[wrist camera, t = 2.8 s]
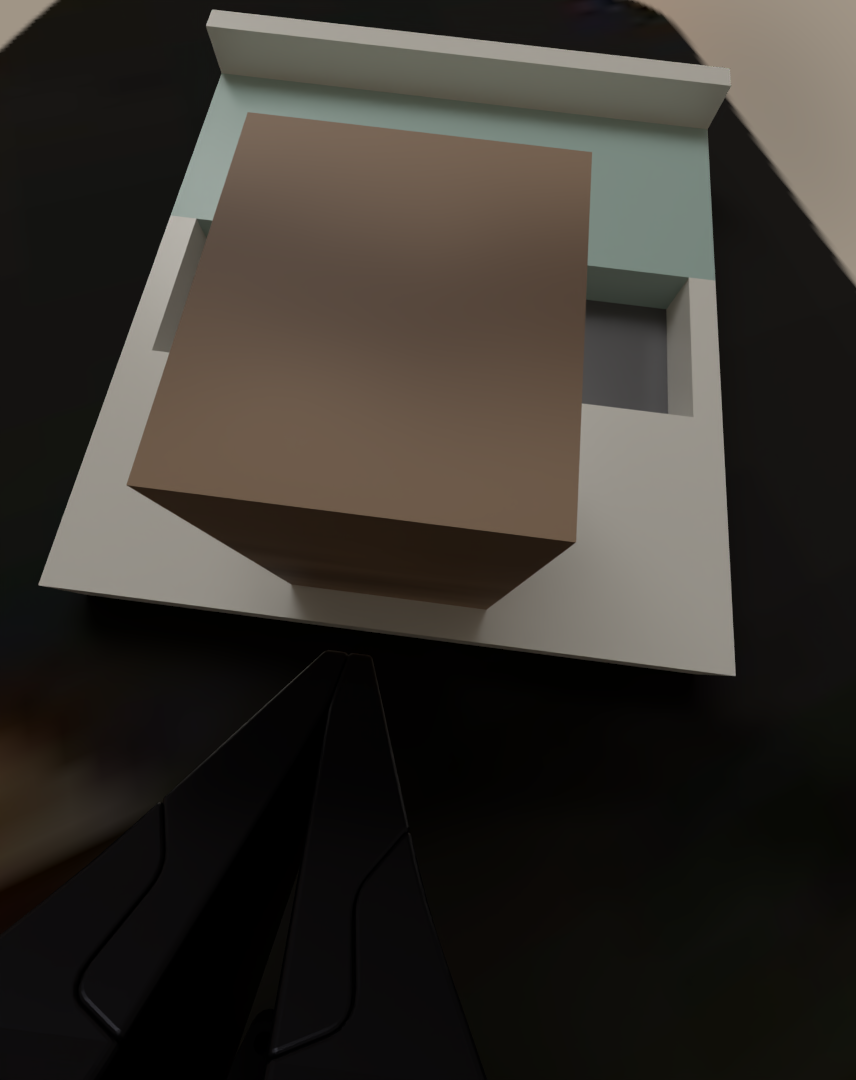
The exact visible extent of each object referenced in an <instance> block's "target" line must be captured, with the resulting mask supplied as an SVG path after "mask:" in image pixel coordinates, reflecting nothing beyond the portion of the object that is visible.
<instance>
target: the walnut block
mask: <svg viewBox="0 0 856 1080" xmlns="http://www.w3.org/2000/svg"><path fill="white" fill-rule="evenodd" d="M591 168H592V152H586V151H578V150H569V149H561V148H552V147H543V146H535V145H526V144H518V143H509V142H501V141H492V140H483V139H475V138H466V137H458V136H449V135H440V134H432V133H423V132H415V131H406V130H397V129H389V128H380V127H372V126H363V125H355V124H346V123H337V122H329V121H320V120H312V119H303V118H294V117H286V116H277V115H269V114H260V113H251V112H248V113H247V116H246V119H245V122H244V125H243V128H242V131H241V134H240V137H239V140H238V144H237V147H236V150H235V153H234V156H233V159H232V162H231V165H230V168H229V171H228V174H227V177H226V180H225V183H224V187H223V190H222V193H221V196H220V199H219V202H218V205H217V208H216V211H215V214H214V217H213V220H212V223H211V226H210V230H209V233H208V236H207V239H206V242H205V245H204V248H203V251H202V254H201V257H200V260H199V263H198V266H197V269H196V273H195V276H194V279H193V282H192V285H191V288H190V291H189V294H188V297H187V300H186V303H185V306H184V309H183V312H182V316H181V319H180V322H179V325H178V328H177V331H176V334H175V337H174V340H173V343H172V346H171V349H170V352H169V355H168V359H167V362H166V365H165V368H164V371H163V374H162V377H161V380H160V383H159V386H158V389H157V392H156V395H155V398H154V402H153V405H152V408H151V411H150V414H149V417H148V420H147V423H146V426H145V429H144V432H143V435H142V438H141V442H140V445H139V448H138V451H137V454H136V457H135V460H134V463H133V466H132V469H131V472H130V475H129V478H128V481H127V486H129V487H130V488H132V489H134V490H135V491H137V492H139V493H140V494H142V495H143V496H145V497H147V498H148V499H150V500H152V501H153V502H155V503H157V504H158V505H160V506H162V507H163V508H165V509H167V510H168V511H170V512H172V513H173V514H175V515H177V516H178V517H180V518H182V519H183V520H185V521H187V522H188V523H190V524H192V525H193V526H195V527H197V528H198V529H200V530H202V531H203V532H205V533H207V534H208V535H210V536H212V537H213V538H215V539H216V540H218V541H220V542H221V543H223V544H225V545H226V546H228V547H230V548H231V549H233V550H235V551H236V552H238V553H240V554H241V555H243V556H245V557H246V558H248V559H250V560H251V561H253V562H255V563H256V564H258V565H260V566H261V567H263V568H265V569H266V570H268V571H270V572H271V573H273V574H275V575H276V576H278V577H280V578H281V579H283V580H285V581H286V582H288V583H290V584H292V585H299V586H307V587H315V588H323V589H330V590H338V591H346V592H353V593H361V594H369V595H377V596H384V597H392V598H400V599H407V600H415V601H423V602H431V603H438V604H446V605H454V606H462V607H469V608H477V609H485V610H487V609H488V608H489V607H491V606H492V605H493V604H495V603H496V602H497V601H499V600H500V599H501V598H503V597H504V596H505V595H507V594H508V593H509V592H511V591H512V590H513V589H515V588H516V587H517V586H519V585H520V584H521V583H523V582H524V581H525V580H527V579H528V578H529V577H531V576H532V575H533V574H535V573H536V572H537V571H539V570H540V569H541V568H543V567H544V566H545V565H547V564H548V563H549V562H551V561H552V560H553V559H555V558H556V557H557V556H559V555H560V554H561V553H563V552H564V551H565V550H567V549H568V548H569V547H571V546H572V545H573V544H575V543H576V533H577V509H578V484H579V460H580V436H581V411H582V387H583V363H584V338H585V314H586V289H587V265H588V241H589V216H590V192H591Z"/></svg>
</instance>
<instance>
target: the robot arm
mask: <svg viewBox="0 0 856 1080" xmlns="http://www.w3.org/2000/svg"><path fill="white" fill-rule="evenodd" d="M409 830H410V828H409V823H408V819H407V814H406V810H405V805H404V800H403V796H402V791H401V787H400V782H399V778H398V773H397V769H396V764H395V759H394V755H393V750H392V746H391V741H390V737H389V732H388V728H387V723H386V719H385V714H384V709H383V705H382V700H381V696H380V691H379V687H378V682H377V678H376V673H375V668H374V664H373V659H372V657H371V656H370V655H364V654H355V653H351V654H350V655H349V656H348V654H347V653H345V652H339V651H330V650H327V651H325V652H323V653H322V654H321V655H320V656H319V657H318V658H316V659H315V660H314V661H313V662H312V663H311V664H310V665H309V666H308V667H307V668H306V669H304V670H303V671H302V672H301V673H300V674H299V675H298V676H297V677H296V678H295V679H293V680H292V681H291V682H290V683H289V684H288V685H287V686H286V687H285V688H284V689H283V690H281V691H280V692H279V693H278V694H277V695H276V696H275V697H274V698H273V699H272V700H270V701H269V702H268V703H267V704H266V705H265V706H264V707H263V708H262V709H261V710H259V711H258V712H257V713H256V714H255V715H254V716H253V717H252V718H251V719H250V720H249V721H247V722H246V723H245V724H244V725H243V726H242V727H241V728H240V729H239V730H238V731H236V732H235V733H234V734H233V735H232V736H231V737H230V738H229V739H228V740H227V741H226V742H224V743H223V744H222V745H221V746H220V747H219V748H218V749H217V750H216V751H215V752H213V753H212V754H211V755H210V756H209V757H208V758H207V759H206V760H205V761H204V762H202V763H201V764H200V765H199V766H198V767H197V768H196V769H195V770H194V771H193V772H192V773H190V774H189V775H188V776H187V777H186V778H185V779H184V780H183V781H182V782H181V783H179V784H178V785H177V786H176V787H175V788H174V789H173V790H172V791H171V792H170V793H169V794H167V795H166V796H165V797H164V799H163V803H161V802H159V803H157V804H156V805H155V806H154V807H153V808H152V809H151V810H150V811H148V812H147V813H146V814H145V815H144V816H143V817H142V818H141V819H140V820H139V821H137V822H136V823H135V824H134V825H133V826H132V827H131V828H130V829H128V830H127V831H126V832H125V833H124V834H123V835H122V836H120V837H119V838H118V839H117V840H116V841H115V842H114V843H112V844H111V845H110V846H109V847H108V848H107V849H106V850H105V851H103V852H102V853H101V854H100V855H99V856H98V857H97V858H95V859H94V860H93V861H92V862H91V863H89V864H88V865H87V866H86V867H84V868H83V869H82V870H81V871H80V872H78V873H77V874H76V875H75V876H73V877H72V878H71V879H70V880H68V881H67V882H66V883H65V884H64V885H62V886H61V887H60V888H59V889H57V890H56V891H55V892H54V893H52V894H51V895H50V896H49V897H48V898H46V899H45V900H44V901H43V902H41V903H40V904H39V905H38V906H36V907H35V908H34V909H32V910H31V911H30V912H29V913H27V914H26V915H25V916H24V917H22V918H21V919H20V920H18V921H17V922H16V923H15V924H13V925H12V926H11V927H10V928H8V929H7V930H6V931H4V932H3V933H2V934H1V935H0V1080H487V1078H486V1075H485V1073H484V1070H483V1067H482V1064H481V1061H480V1058H479V1055H478V1052H477V1049H476V1046H475V1044H474V1041H473V1038H472V1035H471V1032H470V1029H469V1026H468V1023H467V1020H466V1017H465V1015H464V1012H463V1009H462V1006H461V1003H460V1000H459V997H458V994H457V991H456V989H455V986H454V983H453V980H452V977H451V974H450V971H449V968H448V965H447V962H446V960H445V957H444V954H443V951H442V947H441V944H440V941H439V938H438V935H437V931H436V928H435V925H434V922H433V919H432V915H431V912H430V909H429V906H428V902H427V898H426V894H425V890H424V886H423V882H422V878H421V875H420V871H419V867H418V863H417V858H416V854H415V849H414V845H413V840H412V836H411V834H410V833H409ZM299 866H300V869H299ZM298 869H299V874H298V880H297V885H296V891H295V897H294V902H293V908H292V913H291V919H290V925H289V930H288V936H287V941H286V947H285V953H284V958H283V964H282V969H281V975H280V981H279V986H278V992H277V997H276V1003H275V1009H274V1010H273V1009H268V1010H264V1011H262V1012H261V1013H259V1014H258V1015H257V1016H256V1018H255V1019H254V1020H253V1022H252V1024H251V1026H250V1028H249V1030H248V1032H247V1034H246V1036H245V1038H244V1040H243V1042H242V1044H241V1046H240V1048H239V1050H238V1052H237V1049H238V1046H239V1043H240V1040H241V1037H242V1034H243V1031H244V1028H245V1025H246V1022H247V1019H248V1016H249V1013H250V1010H251V1008H252V1005H253V1002H254V999H255V996H256V993H257V990H258V987H259V984H260V981H261V978H262V975H263V972H264V969H265V966H266V963H267V960H268V957H269V955H270V952H271V949H272V946H273V943H274V940H275V937H276V934H277V931H278V928H279V925H280V922H281V919H282V916H283V913H284V910H285V907H286V904H287V902H288V899H289V896H290V893H291V890H292V887H293V884H294V881H295V878H296V875H297V872H298ZM261 1032H268V1033H270V1037H269V1042H268V1043H264V1042H263V1041H262V1040H261V1039H260V1037H259V1033H261ZM236 1052H237V1054H236ZM235 1055H236V1056H235Z"/></svg>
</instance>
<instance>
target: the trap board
mask: <svg viewBox="0 0 856 1080" xmlns="http://www.w3.org/2000/svg"><path fill="white" fill-rule="evenodd" d="M206 28H207V31H208V34H209V37H210V40H211V42H212V45H213V48H214V51H215V54H216V57H217V60H218V63H219V66H220V69H221V72H222V74H221V77H220V80H219V83H218V85H217V88H216V91H215V94H214V96H213V99H212V102H211V105H210V108H209V110H208V113H207V116H206V119H205V122H204V124H203V127H202V130H201V133H200V136H199V138H198V141H197V144H196V147H195V149H194V152H193V155H192V158H191V161H190V163H189V166H188V169H187V172H186V175H185V177H184V180H183V183H182V186H181V189H180V191H179V194H178V197H177V200H176V203H175V205H174V208H173V211H172V214H171V216H170V219H169V222H168V225H167V228H166V230H165V233H164V236H163V239H162V242H161V244H160V247H159V250H158V253H157V256H156V258H155V261H154V264H153V267H152V269H151V272H150V275H149V278H148V281H147V283H146V286H145V289H144V292H143V295H142V297H141V300H140V303H139V306H138V309H137V311H136V314H135V317H134V320H133V323H132V325H131V328H130V331H129V334H128V336H127V339H126V342H125V345H124V348H123V350H122V353H121V356H120V359H119V362H118V364H117V367H116V370H115V373H114V376H113V378H112V381H111V384H110V387H109V390H108V392H107V395H106V398H105V401H104V403H103V406H102V409H101V412H100V415H99V417H98V420H97V423H96V426H95V429H94V431H93V434H92V437H91V440H90V443H89V445H88V448H87V451H86V454H85V456H84V459H83V462H82V465H81V468H80V470H79V473H78V476H77V479H76V482H75V484H74V487H73V490H72V493H71V496H70V498H69V501H68V504H67V507H66V510H65V512H64V515H63V518H62V521H61V523H60V526H59V529H58V532H57V535H56V537H55V540H54V543H53V546H52V549H51V551H50V554H49V557H48V560H47V563H46V565H45V568H44V571H43V574H42V577H41V579H40V582H39V585H40V586H45V587H50V588H55V589H60V590H65V591H70V592H75V593H80V594H85V595H92V596H100V597H108V598H115V599H123V600H131V601H138V602H146V603H154V604H161V605H169V606H177V607H184V608H192V609H200V610H207V611H215V612H223V613H230V614H238V615H245V616H253V617H261V618H268V619H276V620H284V621H291V622H299V623H307V624H314V625H322V626H330V627H337V628H345V629H353V630H360V631H368V632H376V633H383V634H391V635H399V636H406V637H414V638H422V639H429V640H437V641H445V642H452V643H460V644H468V645H475V646H483V647H491V648H498V649H506V650H514V651H521V652H529V653H537V654H544V655H552V656H560V657H567V658H575V659H583V660H590V661H598V662H606V663H613V664H621V665H629V666H636V667H644V668H652V669H659V670H667V671H675V672H682V673H690V674H701V675H722V676H736V674H735V654H734V635H733V616H732V596H731V577H730V557H729V538H728V519H727V499H726V480H725V461H724V441H723V422H722V403H721V383H720V364H719V344H718V325H717V306H716V286H715V267H714V248H713V228H712V209H711V190H710V170H709V151H708V132H707V129H708V127H709V125H710V124H711V122H712V120H713V118H714V116H715V114H716V113H717V111H718V109H719V107H720V105H721V103H722V102H723V100H724V98H725V96H726V94H727V92H728V90H729V89H730V87H731V78H730V69H729V68H721V67H712V66H703V65H695V64H686V63H677V62H668V61H659V60H651V59H642V58H633V57H624V56H615V55H607V54H598V53H589V52H580V51H571V50H563V49H554V48H545V47H536V46H527V45H519V44H510V43H501V42H492V41H484V40H475V39H466V38H457V37H448V36H440V35H431V34H422V33H413V32H404V31H396V30H387V29H378V28H369V27H360V26H352V25H343V24H334V23H325V22H316V21H308V20H299V19H290V18H281V17H272V16H264V15H255V14H246V13H237V12H228V11H220V10H212V12H211V14H210V17H209V19H208V22H207V24H206ZM248 112H251V113H260V114H269V115H277V116H286V117H294V118H303V119H312V120H320V121H329V122H337V123H346V124H355V125H363V126H372V127H380V128H389V129H397V130H406V131H415V132H423V133H432V134H440V135H449V136H458V137H466V138H475V139H483V140H492V141H501V142H509V143H518V144H526V145H535V146H543V147H552V148H561V149H569V150H578V151H586V152H592V168H591V192H590V216H589V241H588V265H587V289H586V314H585V338H584V363H583V387H582V411H581V436H580V460H579V484H578V509H577V533H576V543H575V544H573V545H572V546H571V547H569V548H568V549H567V550H565V551H564V552H563V553H561V554H560V555H559V556H557V557H556V558H555V559H553V560H552V561H551V562H549V563H548V564H547V565H545V566H544V567H543V568H541V569H540V570H539V571H537V572H536V573H535V574H533V575H532V576H531V577H529V578H528V579H527V580H525V581H524V582H523V583H521V584H520V585H519V586H517V587H516V588H515V589H513V590H512V591H511V592H509V593H508V594H507V595H505V596H504V597H503V598H501V599H500V600H499V601H497V602H496V603H495V604H493V605H492V606H491V607H489V608H488V609H487V610H485V609H477V608H469V607H462V606H454V605H446V604H438V603H431V602H423V601H415V600H407V599H400V598H392V597H384V596H377V595H369V594H361V593H353V592H346V591H338V590H330V589H323V588H315V587H307V586H299V585H292V584H290V583H288V582H286V581H285V580H283V579H281V578H280V577H278V576H276V575H275V574H273V573H271V572H270V571H268V570H266V569H265V568H263V567H261V566H260V565H258V564H256V563H255V562H253V561H251V560H250V559H248V558H246V557H245V556H243V555H241V554H240V553H238V552H236V551H235V550H233V549H231V548H230V547H228V546H226V545H225V544H223V543H221V542H220V541H218V540H216V539H215V538H213V537H212V536H210V535H208V534H207V533H205V532H203V531H202V530H200V529H198V528H197V527H195V526H193V525H192V524H190V523H188V522H187V521H185V520H183V519H182V518H180V517H178V516H177V515H175V514H173V513H172V512H170V511H168V510H167V509H165V508H163V507H162V506H160V505H158V504H157V503H155V502H153V501H152V500H150V499H148V498H147V497H145V496H143V495H142V494H140V493H139V492H137V491H135V490H134V489H132V488H130V487H129V486H127V481H128V478H129V475H130V472H131V469H132V466H133V463H134V460H135V457H136V454H137V451H138V448H139V445H140V442H141V438H142V435H143V432H144V429H145V426H146V423H147V420H148V417H149V414H150V411H151V408H152V405H153V402H154V398H155V395H156V392H157V389H158V386H159V383H160V380H161V377H162V374H163V371H164V368H165V365H166V362H167V359H168V355H169V352H170V349H171V346H172V343H173V340H174V337H175V334H176V331H177V328H178V325H179V322H180V319H181V316H182V312H183V309H184V306H185V303H186V300H187V297H188V294H189V291H190V288H191V285H192V282H193V279H194V276H195V273H196V269H197V266H198V263H199V260H200V257H201V254H202V251H203V248H204V245H205V242H206V239H207V236H208V233H209V230H210V226H211V223H212V220H213V217H214V214H215V211H216V208H217V205H218V202H219V199H220V196H221V193H222V190H223V187H224V183H225V180H226V177H227V174H228V171H229V168H230V165H231V162H232V159H233V156H234V153H235V150H236V147H237V144H238V140H239V137H240V134H241V131H242V128H243V125H244V122H245V119H246V116H247V113H248Z"/></svg>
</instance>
